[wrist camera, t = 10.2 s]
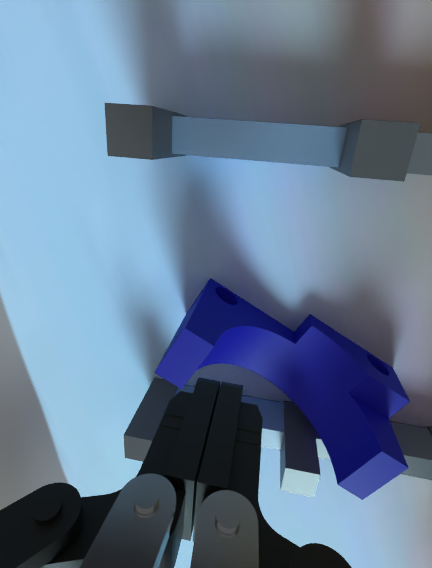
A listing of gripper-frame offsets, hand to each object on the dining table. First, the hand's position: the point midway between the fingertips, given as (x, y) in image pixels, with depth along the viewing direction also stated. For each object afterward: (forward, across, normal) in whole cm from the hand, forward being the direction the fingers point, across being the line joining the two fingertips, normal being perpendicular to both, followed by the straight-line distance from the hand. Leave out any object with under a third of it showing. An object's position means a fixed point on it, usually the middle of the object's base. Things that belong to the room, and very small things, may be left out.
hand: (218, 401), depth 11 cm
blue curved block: (+10, -3, +3) cm, 10 cm away
